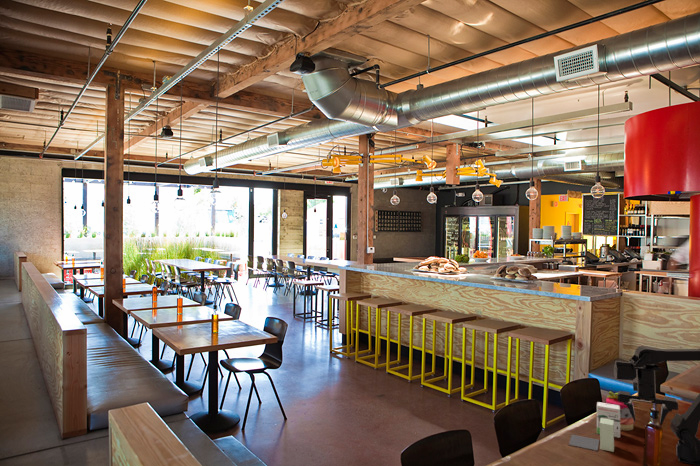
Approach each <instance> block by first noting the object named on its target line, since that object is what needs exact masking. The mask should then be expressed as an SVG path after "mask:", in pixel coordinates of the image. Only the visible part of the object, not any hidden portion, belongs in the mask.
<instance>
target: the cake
mask: <svg viewBox="0 0 700 466" xmlns="http://www.w3.org/2000/svg"><path fill="white" fill-rule="evenodd" d="M605 400H606V402H605V403H607V404H614V405H619V406H620V431H632V430H634V423H635V421H634V420H633V417H632V415H631V412H630V410H629V409H628V407H627V405H624V403H623V402H618V392H615V393H614V392H613V391H609V392H608V395H606V399H605ZM634 406H635V405H634V403H633V407H634Z"/></svg>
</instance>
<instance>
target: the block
mask: <svg viewBox="0 0 700 466" xmlns="http://www.w3.org/2000/svg"><path fill="white" fill-rule="evenodd" d="M599 449H600V450H603V451H608V452H612V453H614V452H615V437H614V420H610V419H604V418H600V434H599Z"/></svg>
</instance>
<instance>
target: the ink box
mask: <svg viewBox="0 0 700 466" xmlns="http://www.w3.org/2000/svg"><path fill="white" fill-rule="evenodd" d="M600 418H604V419H610V420H614V438H621V430H620V406H619V405H614V404H607V403H606V402H600V401H597V402H596V434H598V435H600Z"/></svg>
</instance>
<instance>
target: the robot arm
mask: <svg viewBox="0 0 700 466" xmlns="http://www.w3.org/2000/svg"><path fill="white" fill-rule="evenodd" d="M664 362H700V348H667V349H666V348H658V347H652V346H647V345H641V346H640V345H639V346H637V348H635V351H634V354H633V356H631V358H630V359H629V360H628V361H621V360H615V361H614V366H613V376H614V379H615V380H621V381H622V380H624V381H633V382H632V388H633V389H632V390H633V391H634V392H637V395H634V394H630V393H631V392H630V391H623V390H618V391H617V393H618V402H623V403H624V405H627V407H628V409H629V410H630V412H631V415H632V417H633V420H634V422H636V413H635V407H634V406H633V404H634V402H640V403H641V402H642V403H647V404H654V405H655V404H656V405H661V410H660V417H659V425H660V426H661V427H662V425H663V423H664V421H665V418H666V417H667V415H668V413H670V412H673V411H679V403H678V400H677V398H676V397H668V396H664V397H663V398H657V394H656V392H657V390H656V371H659V372H661V371H662V368H661V367H660V366H658V364H660V363H661V364H662V363H664ZM634 380H637V382H635V381H634ZM633 401H634V402H633ZM669 421H670V425H669V427H670V430H671V431H672V433H673V434H674V435H675V436H676V437H677V439H678V440H677V443H676V444H675V446H676V449H675V450H676V458H678V462H680V463H684V464H691V465H695V466H696V465H697V466H700V439H699V438H698V437H697V436H696V435H697V433H698V431H699V426H700V393H699V394H697V396H696V398H695V399H694V400H693V401H692V402H691V404H690V406H689V407H688V409H687V410H686V411H685V412H684V413H682V414H680V413H678V412H676V413H675V414H674V416H673V418H672V419H670V420H669Z"/></svg>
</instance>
